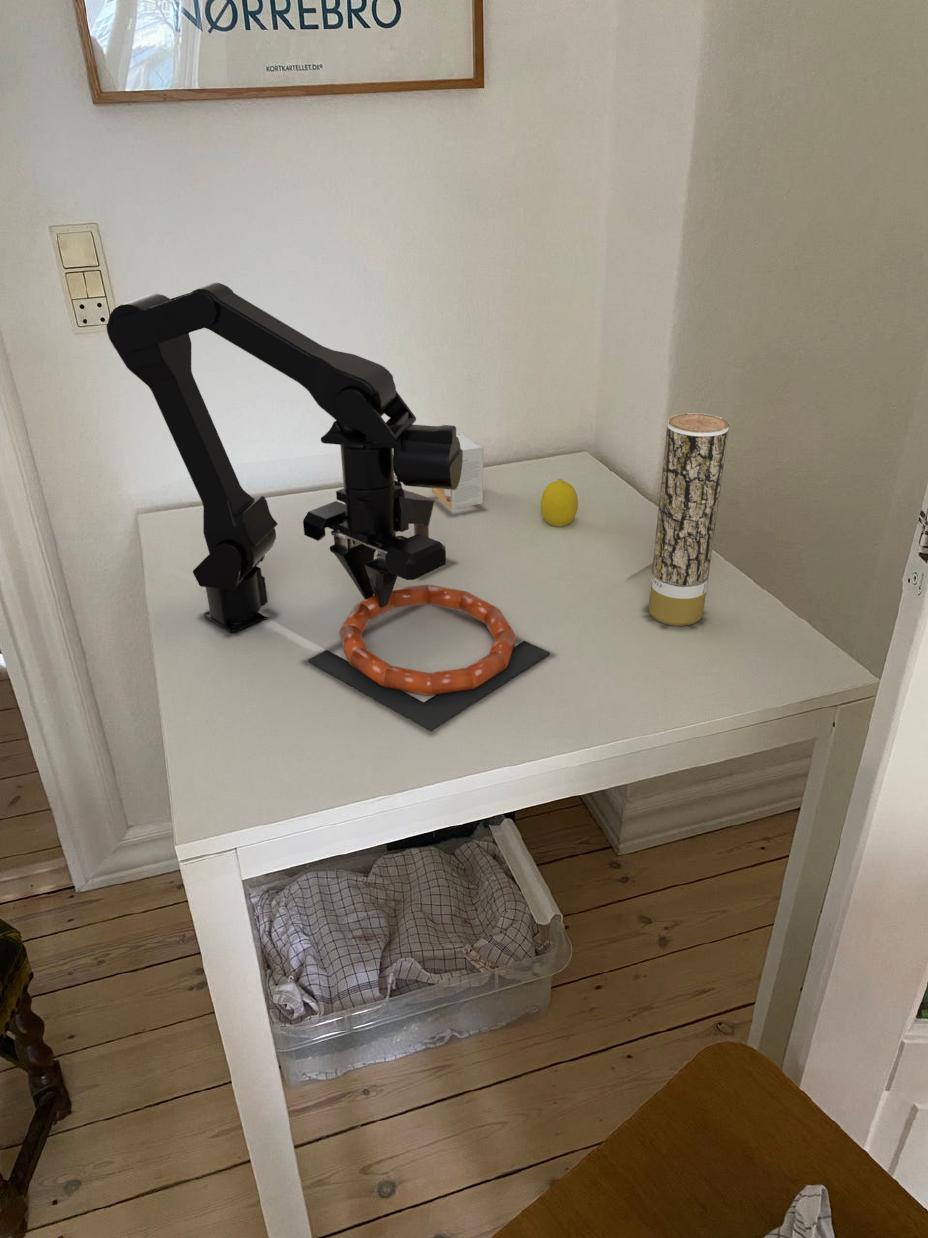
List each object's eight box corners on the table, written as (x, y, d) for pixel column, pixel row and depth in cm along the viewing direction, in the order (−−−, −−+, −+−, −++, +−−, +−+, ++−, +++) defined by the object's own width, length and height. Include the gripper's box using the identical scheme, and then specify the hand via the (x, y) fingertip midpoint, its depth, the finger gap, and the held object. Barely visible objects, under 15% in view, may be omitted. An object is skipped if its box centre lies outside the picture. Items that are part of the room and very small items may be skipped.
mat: (430, 731, 96) (430, 728, 95) (308, 662, 107) (308, 659, 107) (549, 654, 108) (549, 652, 108) (428, 600, 120) (428, 597, 120)
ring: (428, 723, 96) (429, 705, 94) (306, 640, 106) (305, 623, 105) (546, 648, 108) (549, 631, 107) (426, 581, 119) (427, 565, 117)
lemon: (576, 522, 141) (579, 473, 137) (576, 537, 136) (579, 486, 132) (540, 521, 142) (541, 472, 138) (539, 536, 137) (540, 485, 133)
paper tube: (662, 632, 113) (684, 434, 100) (638, 606, 118) (657, 416, 106) (712, 624, 114) (740, 428, 102) (687, 598, 120) (710, 410, 107)
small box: (431, 498, 150) (429, 436, 145) (462, 492, 152) (461, 431, 147) (451, 516, 144) (450, 451, 138) (483, 510, 146) (484, 446, 140)
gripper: (478, 481, 103) (478, 603, 111) (366, 444, 114) (373, 557, 122) (407, 511, 96) (412, 639, 103) (294, 468, 107) (307, 587, 114)
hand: (376, 602), depth 111 cm, fingers closed on ring, 2 cm apart
